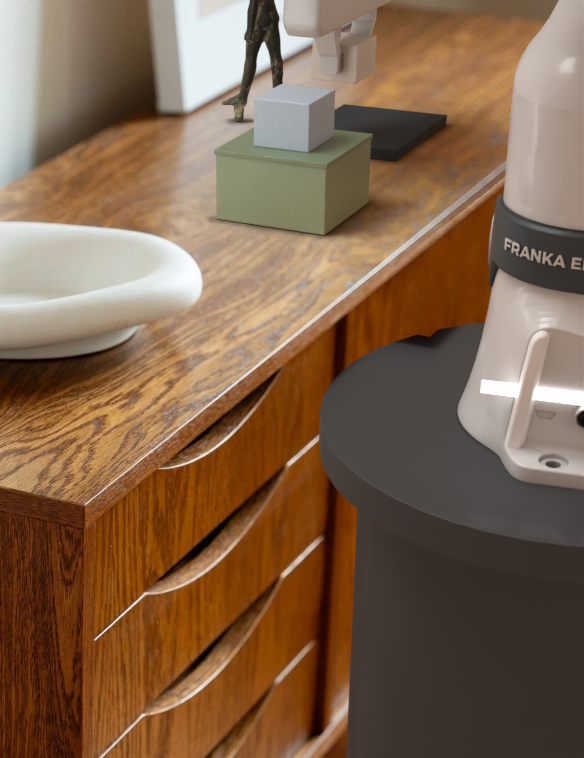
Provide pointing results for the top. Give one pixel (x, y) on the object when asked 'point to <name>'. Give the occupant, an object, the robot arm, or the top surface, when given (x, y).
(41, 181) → the top surface
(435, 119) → the mat
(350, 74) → the beige cube
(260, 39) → the statue
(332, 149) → the storage box
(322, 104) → the gray box
